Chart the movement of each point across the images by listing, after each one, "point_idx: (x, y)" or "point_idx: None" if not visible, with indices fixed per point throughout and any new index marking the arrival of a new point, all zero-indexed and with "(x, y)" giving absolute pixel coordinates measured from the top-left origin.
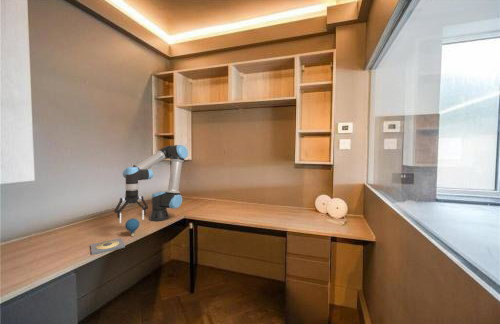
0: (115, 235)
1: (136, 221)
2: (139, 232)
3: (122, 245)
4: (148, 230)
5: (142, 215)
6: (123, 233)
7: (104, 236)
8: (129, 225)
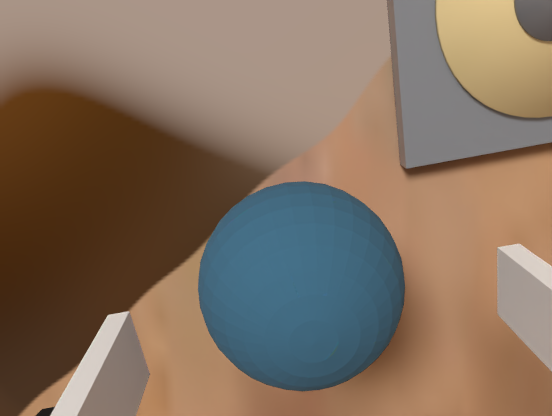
0: (442, 313)
1: (237, 261)
2: None
3: None
4: None
5: (106, 382)
6: None
7: None
8: (349, 202)
